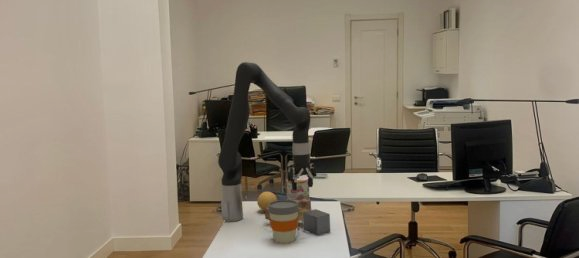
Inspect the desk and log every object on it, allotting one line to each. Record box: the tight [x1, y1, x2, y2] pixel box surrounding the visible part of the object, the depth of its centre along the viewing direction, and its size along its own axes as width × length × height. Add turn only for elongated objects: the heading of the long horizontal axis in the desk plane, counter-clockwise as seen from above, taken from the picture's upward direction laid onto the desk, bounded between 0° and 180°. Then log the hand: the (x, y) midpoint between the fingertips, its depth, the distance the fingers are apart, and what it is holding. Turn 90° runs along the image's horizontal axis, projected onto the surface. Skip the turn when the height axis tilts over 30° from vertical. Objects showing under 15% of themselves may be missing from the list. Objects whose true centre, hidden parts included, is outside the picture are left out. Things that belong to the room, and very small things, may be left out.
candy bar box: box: [285, 177, 310, 201], centre depth 230 cm, size 11×5×16 cm, turn 84°
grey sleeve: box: [303, 208, 331, 237], centre depth 201 cm, size 7×10×8 cm
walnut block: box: [264, 199, 312, 221], centre depth 218 cm, size 23×4×8 cm, turn 125°
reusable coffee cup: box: [268, 199, 299, 244], centre depth 193 cm, size 13×13×15 cm
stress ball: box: [256, 191, 278, 212], centre depth 233 cm, size 10×10×10 cm
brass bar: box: [298, 207, 310, 223], centre depth 207 cm, size 4×21×4 cm, turn 35°
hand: (302, 188), depth 207 cm, fingers open, 8 cm apart
